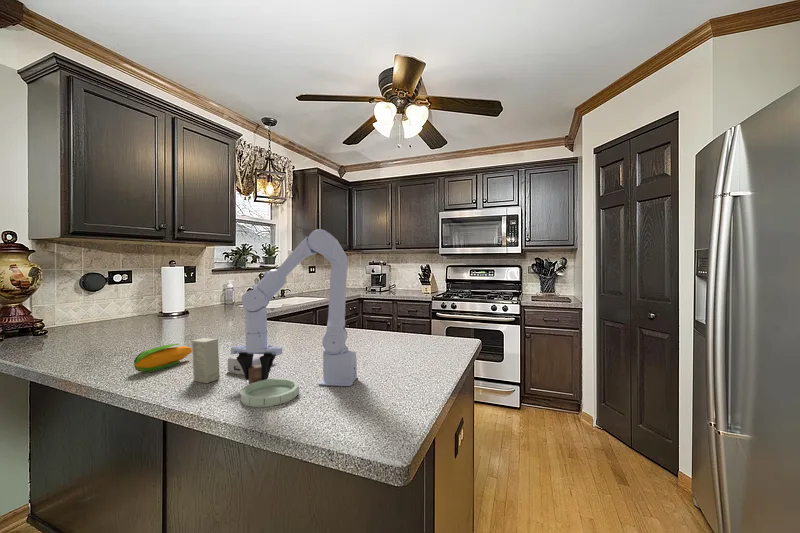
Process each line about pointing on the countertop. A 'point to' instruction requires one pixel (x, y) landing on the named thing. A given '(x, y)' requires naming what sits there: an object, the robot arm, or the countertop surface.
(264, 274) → the robot arm
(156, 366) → the corn
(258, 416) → the countertop surface
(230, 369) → the charger
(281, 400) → the round tray
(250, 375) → the walnut bead
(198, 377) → the skincare box
